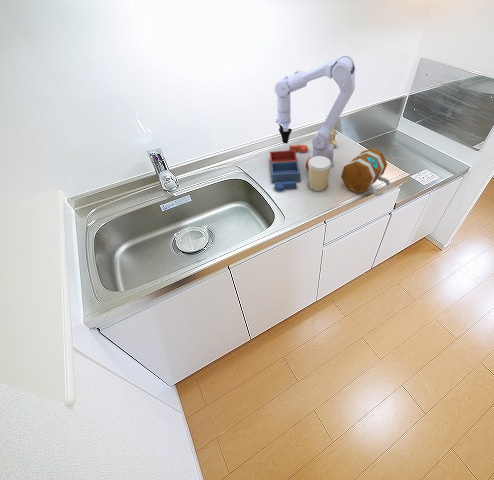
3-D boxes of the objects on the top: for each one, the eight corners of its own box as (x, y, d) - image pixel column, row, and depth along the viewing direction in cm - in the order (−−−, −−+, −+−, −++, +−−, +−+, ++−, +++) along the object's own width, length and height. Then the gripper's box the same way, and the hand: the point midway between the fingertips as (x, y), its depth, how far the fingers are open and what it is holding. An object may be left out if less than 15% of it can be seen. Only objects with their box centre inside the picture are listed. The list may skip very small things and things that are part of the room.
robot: (337, 141, 145) (341, 113, 134) (336, 149, 140) (340, 120, 129) (317, 139, 147) (320, 111, 136) (315, 147, 141) (318, 118, 130)
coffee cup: (331, 182, 122) (334, 158, 113) (323, 194, 116) (326, 170, 107) (311, 177, 124) (313, 153, 115) (303, 188, 119) (304, 164, 110)
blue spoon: (295, 184, 121) (295, 179, 119) (296, 190, 118) (296, 185, 116) (274, 185, 120) (274, 180, 118) (275, 192, 117) (275, 186, 115)
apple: (317, 179, 123) (318, 164, 117) (302, 174, 126) (302, 158, 120) (325, 170, 128) (327, 155, 122) (310, 165, 131) (311, 150, 125)
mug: (353, 155, 106) (371, 141, 114) (335, 176, 118) (352, 161, 126) (388, 192, 106) (404, 175, 114) (366, 209, 117) (382, 192, 125)
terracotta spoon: (290, 153, 138) (290, 148, 136) (289, 149, 141) (289, 144, 139) (308, 152, 138) (308, 147, 136) (306, 148, 141) (307, 143, 139)
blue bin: (271, 171, 128) (270, 162, 124) (297, 169, 128) (297, 161, 125) (272, 183, 122) (272, 174, 118) (299, 181, 122) (300, 172, 119)
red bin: (270, 160, 134) (269, 151, 131) (295, 158, 135) (295, 150, 131) (271, 170, 128) (270, 162, 125) (297, 169, 129) (297, 160, 125)
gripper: (273, 103, 124) (274, 132, 134) (276, 117, 115) (277, 147, 125) (289, 102, 125) (289, 131, 135) (292, 116, 115) (292, 146, 125)
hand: (284, 139), depth 130 cm, fingers open, 7 cm apart
